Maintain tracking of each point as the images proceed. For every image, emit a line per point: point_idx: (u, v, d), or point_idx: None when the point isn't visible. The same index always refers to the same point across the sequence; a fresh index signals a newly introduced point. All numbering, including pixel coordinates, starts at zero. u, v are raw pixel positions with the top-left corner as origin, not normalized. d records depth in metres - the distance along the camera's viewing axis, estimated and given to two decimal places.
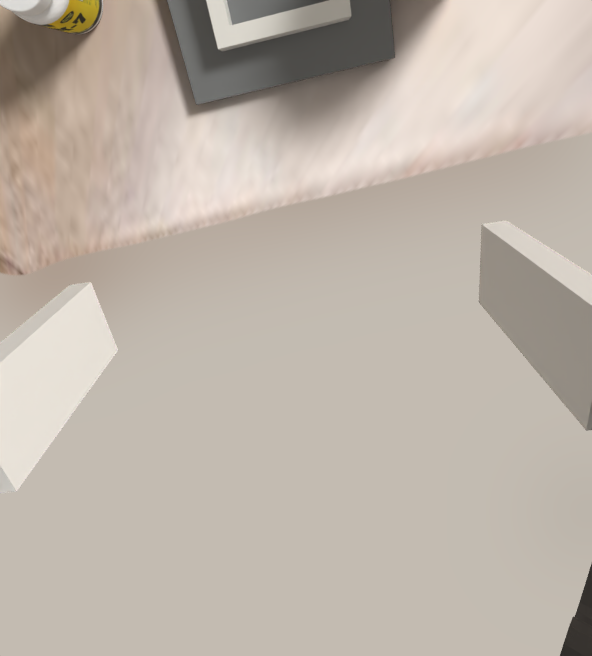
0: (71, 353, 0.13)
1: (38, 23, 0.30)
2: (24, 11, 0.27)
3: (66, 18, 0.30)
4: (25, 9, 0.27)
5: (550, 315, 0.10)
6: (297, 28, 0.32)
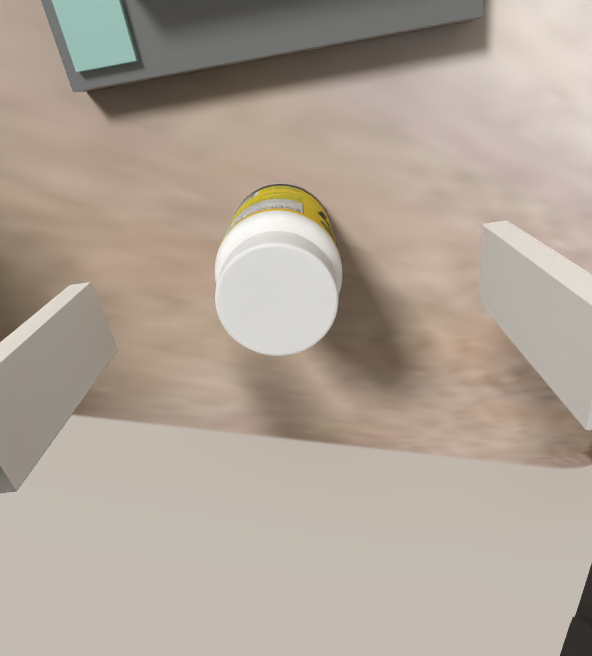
0: (71, 353, 0.13)
1: (341, 283, 0.16)
2: (338, 298, 0.14)
3: (331, 235, 0.17)
4: (334, 294, 0.14)
5: (550, 315, 0.10)
6: None
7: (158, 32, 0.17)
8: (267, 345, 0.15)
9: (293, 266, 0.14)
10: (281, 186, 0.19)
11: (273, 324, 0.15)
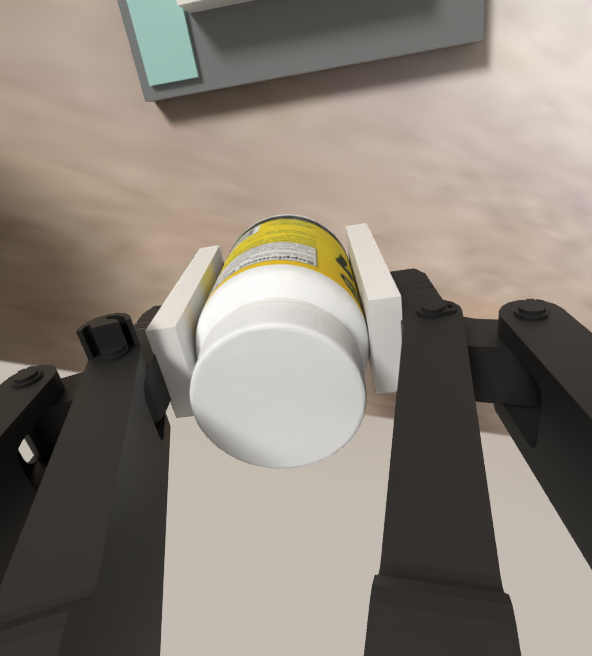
0: None
1: (367, 360, 0.12)
2: None
3: (354, 293, 0.12)
4: (362, 393, 0.10)
5: (362, 302, 0.12)
6: None
7: (216, 54, 0.21)
8: (264, 456, 0.11)
9: (302, 356, 0.09)
10: (288, 220, 0.15)
11: (272, 429, 0.10)
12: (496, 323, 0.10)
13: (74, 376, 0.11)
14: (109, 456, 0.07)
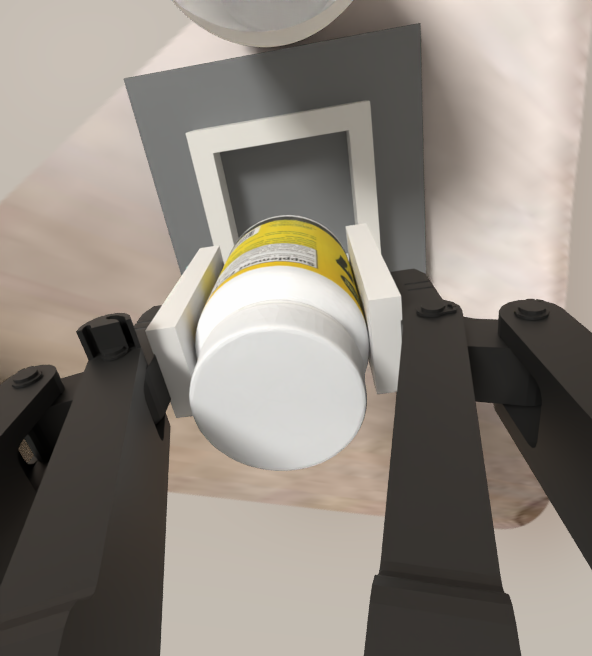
0: None
1: (367, 361, 0.12)
2: (366, 399, 0.10)
3: (355, 295, 0.12)
4: (362, 395, 0.10)
5: (362, 302, 0.12)
6: (374, 178, 0.25)
7: None
8: (263, 458, 0.11)
9: (302, 358, 0.09)
10: (288, 221, 0.15)
11: (273, 431, 0.10)
12: (496, 323, 0.10)
13: (74, 376, 0.11)
14: (109, 456, 0.07)
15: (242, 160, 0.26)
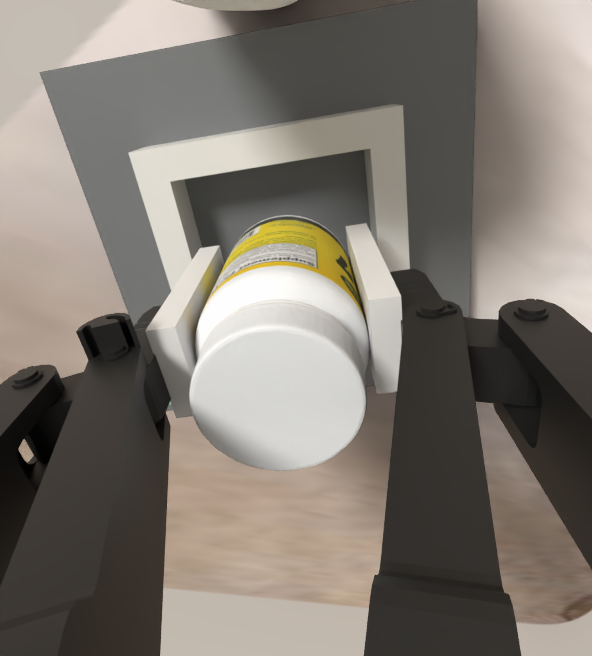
0: None
1: (367, 361, 0.12)
2: (366, 399, 0.10)
3: (355, 295, 0.12)
4: (362, 395, 0.10)
5: (362, 302, 0.12)
6: (406, 217, 0.17)
7: None
8: (263, 458, 0.11)
9: (302, 357, 0.09)
10: (288, 221, 0.15)
11: (273, 431, 0.10)
12: (496, 323, 0.10)
13: (74, 376, 0.11)
14: (109, 456, 0.07)
15: (216, 188, 0.19)
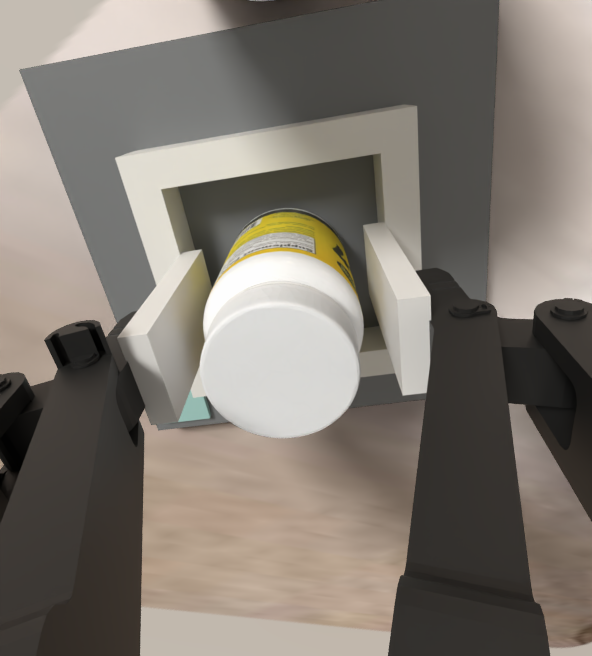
0: (196, 310, 0.15)
1: (361, 340, 0.13)
2: (360, 370, 0.11)
3: (350, 279, 0.13)
4: (356, 366, 0.11)
5: (385, 301, 0.12)
6: (419, 228, 0.16)
7: None
8: (267, 426, 0.12)
9: (302, 332, 0.10)
10: (288, 213, 0.16)
11: (275, 401, 0.11)
12: (531, 322, 0.10)
13: (45, 384, 0.11)
14: (82, 463, 0.07)
15: (212, 196, 0.17)
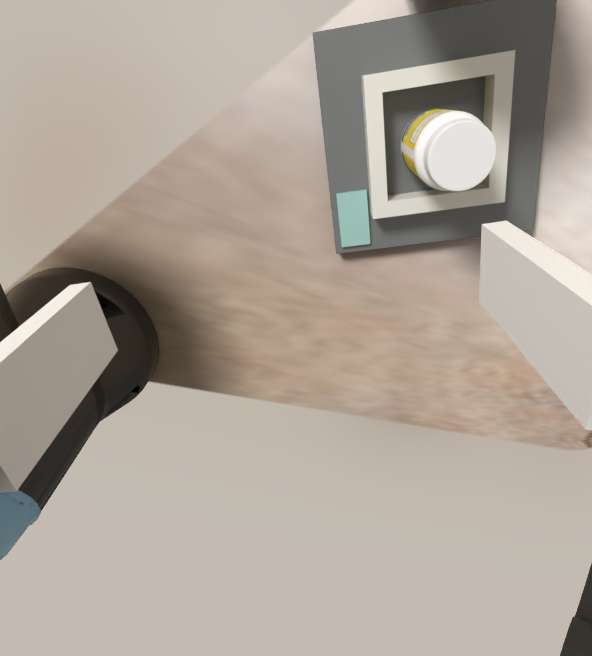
0: (71, 353, 0.13)
1: None
2: (496, 154, 0.26)
3: None
4: (495, 151, 0.26)
5: (550, 315, 0.10)
6: (509, 115, 0.31)
7: (381, 232, 0.37)
8: (451, 184, 0.27)
9: (475, 134, 0.26)
10: None
11: (457, 170, 0.27)
12: None
13: None
14: None
15: (396, 102, 0.32)
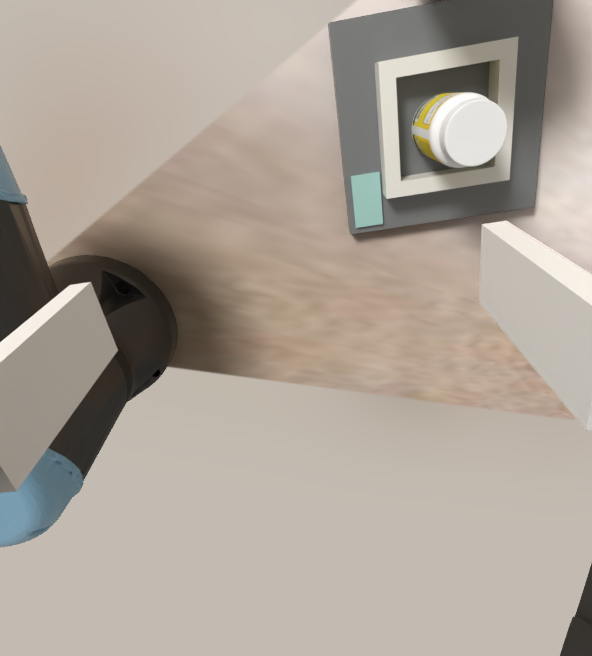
0: (71, 353, 0.13)
1: None
2: None
3: None
4: (506, 128, 0.28)
5: (550, 315, 0.10)
6: (513, 98, 0.33)
7: (393, 212, 0.39)
8: (466, 159, 0.29)
9: (488, 112, 0.28)
10: None
11: (472, 146, 0.29)
12: None
13: None
14: None
15: (407, 87, 0.35)
